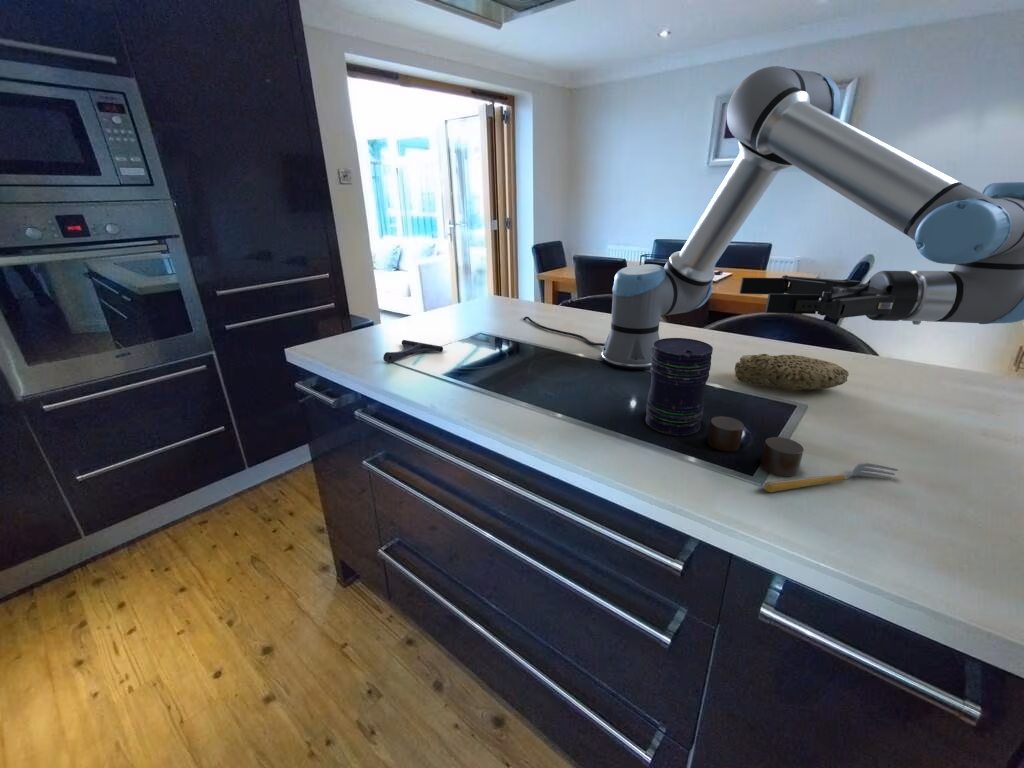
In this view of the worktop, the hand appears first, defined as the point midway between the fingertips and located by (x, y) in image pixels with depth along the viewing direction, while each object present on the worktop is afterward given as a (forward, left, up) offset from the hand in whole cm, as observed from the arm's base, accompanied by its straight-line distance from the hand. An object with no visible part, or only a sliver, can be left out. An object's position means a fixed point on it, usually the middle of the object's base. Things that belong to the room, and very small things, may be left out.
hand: (753, 293), depth 71 cm
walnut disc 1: (+3, -7, -24) cm, 25 cm away
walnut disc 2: (+12, -7, -24) cm, 28 cm away
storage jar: (-7, -7, -24) cm, 26 cm away
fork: (+18, -6, -24) cm, 31 cm away
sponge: (-2, +27, -24) cm, 37 cm away
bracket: (-76, -30, -24) cm, 85 cm away
